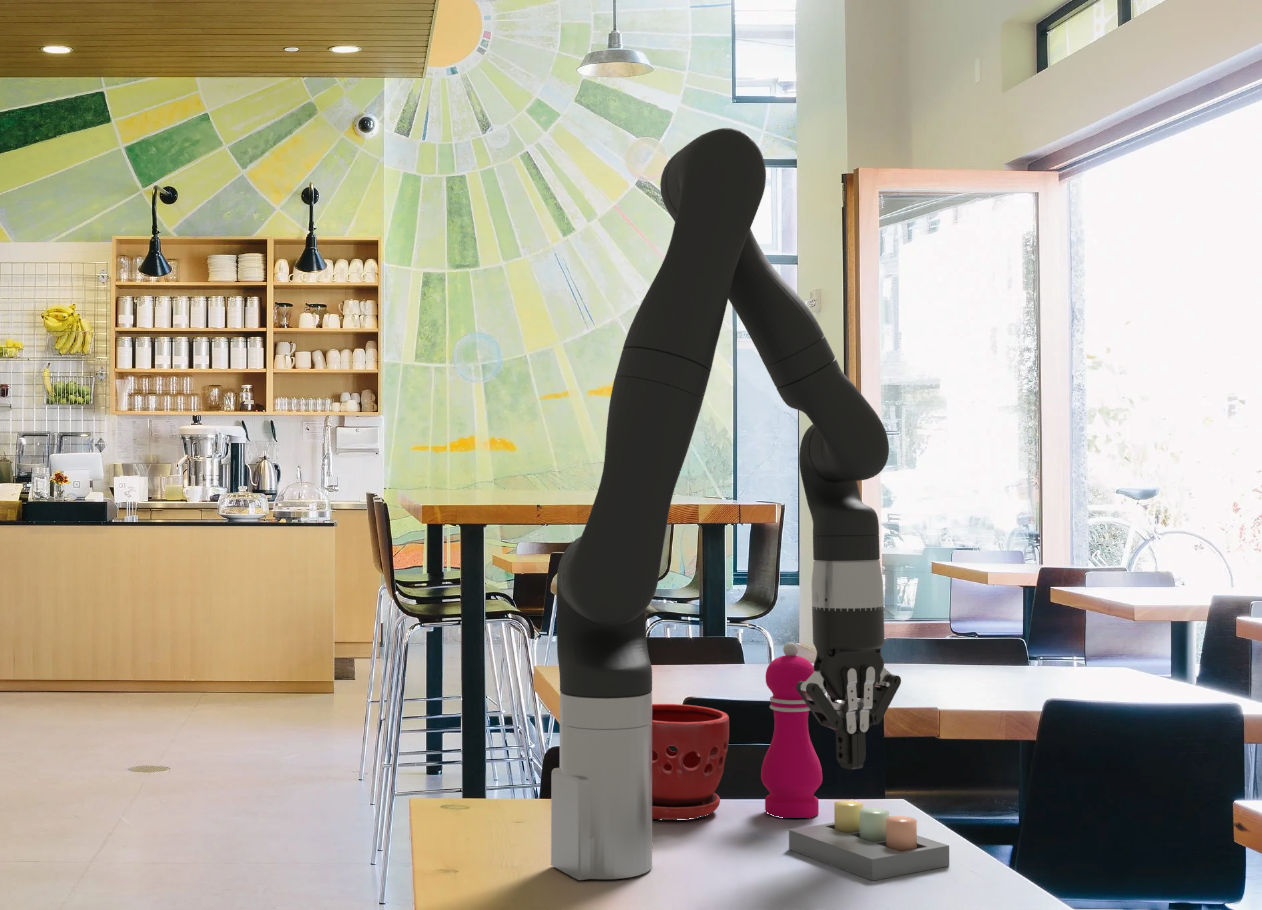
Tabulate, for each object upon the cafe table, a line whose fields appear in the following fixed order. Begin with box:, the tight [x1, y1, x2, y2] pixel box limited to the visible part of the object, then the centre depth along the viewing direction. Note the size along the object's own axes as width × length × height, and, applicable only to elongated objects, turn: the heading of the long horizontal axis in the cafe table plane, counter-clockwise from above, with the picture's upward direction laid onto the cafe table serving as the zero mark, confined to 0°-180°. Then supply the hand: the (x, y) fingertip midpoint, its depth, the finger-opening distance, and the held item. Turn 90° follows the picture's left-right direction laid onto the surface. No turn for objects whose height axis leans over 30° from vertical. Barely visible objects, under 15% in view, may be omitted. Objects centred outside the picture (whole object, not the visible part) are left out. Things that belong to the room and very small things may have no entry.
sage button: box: [859, 807, 890, 842], centre depth 125 cm, size 3×3×3 cm
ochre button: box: [833, 799, 864, 834], centre depth 128 cm, size 3×3×3 cm
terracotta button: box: [886, 815, 918, 852], centre depth 121 cm, size 3×3×3 cm
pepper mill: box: [760, 641, 823, 819], centre depth 144 cm, size 7×7×20 cm
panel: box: [788, 822, 950, 881], centre depth 124 cm, size 10×13×2 cm
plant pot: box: [652, 703, 730, 821], centre depth 143 cm, size 13×13×12 cm
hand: (851, 767), depth 128 cm, fingers closed
